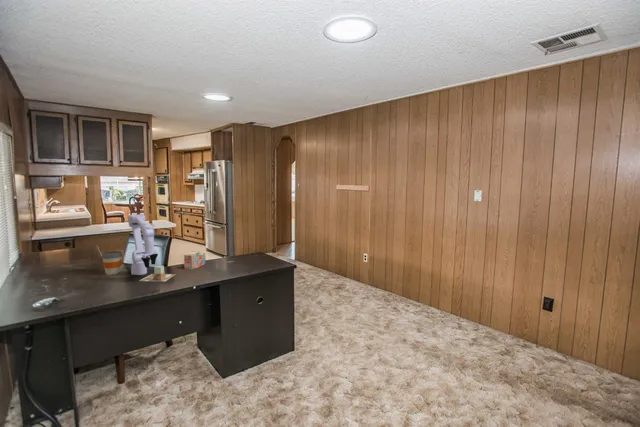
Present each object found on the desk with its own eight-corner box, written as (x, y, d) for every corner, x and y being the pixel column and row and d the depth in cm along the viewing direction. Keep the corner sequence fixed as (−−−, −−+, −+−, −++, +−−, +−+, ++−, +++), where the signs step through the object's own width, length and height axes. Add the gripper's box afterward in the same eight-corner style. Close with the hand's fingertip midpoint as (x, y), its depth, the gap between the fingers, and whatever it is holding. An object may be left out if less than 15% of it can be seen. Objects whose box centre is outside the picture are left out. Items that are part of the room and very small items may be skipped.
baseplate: (138, 282, 216) (138, 280, 216) (151, 275, 232) (151, 273, 232) (165, 282, 216) (165, 281, 216) (176, 275, 232) (176, 274, 232)
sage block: (154, 273, 217) (154, 267, 217) (157, 271, 221) (157, 265, 221) (160, 273, 217) (160, 267, 217) (164, 271, 221) (163, 265, 221)
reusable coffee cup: (124, 269, 244) (123, 250, 243) (120, 274, 232) (119, 254, 231) (105, 271, 240) (104, 251, 239) (100, 276, 229) (98, 255, 227)
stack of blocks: (198, 263, 266) (198, 248, 265) (205, 263, 266) (205, 249, 264) (184, 270, 245) (183, 254, 244) (192, 270, 245) (191, 255, 243)
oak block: (153, 280, 217) (153, 273, 217) (157, 277, 222) (157, 271, 222) (161, 280, 217) (161, 274, 217) (165, 278, 222) (164, 271, 222)
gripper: (149, 248, 210) (150, 268, 212) (160, 244, 225) (161, 263, 226) (138, 248, 210) (139, 268, 212) (150, 244, 225) (151, 262, 226)
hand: (150, 265), depth 219 cm, fingers open, 7 cm apart
